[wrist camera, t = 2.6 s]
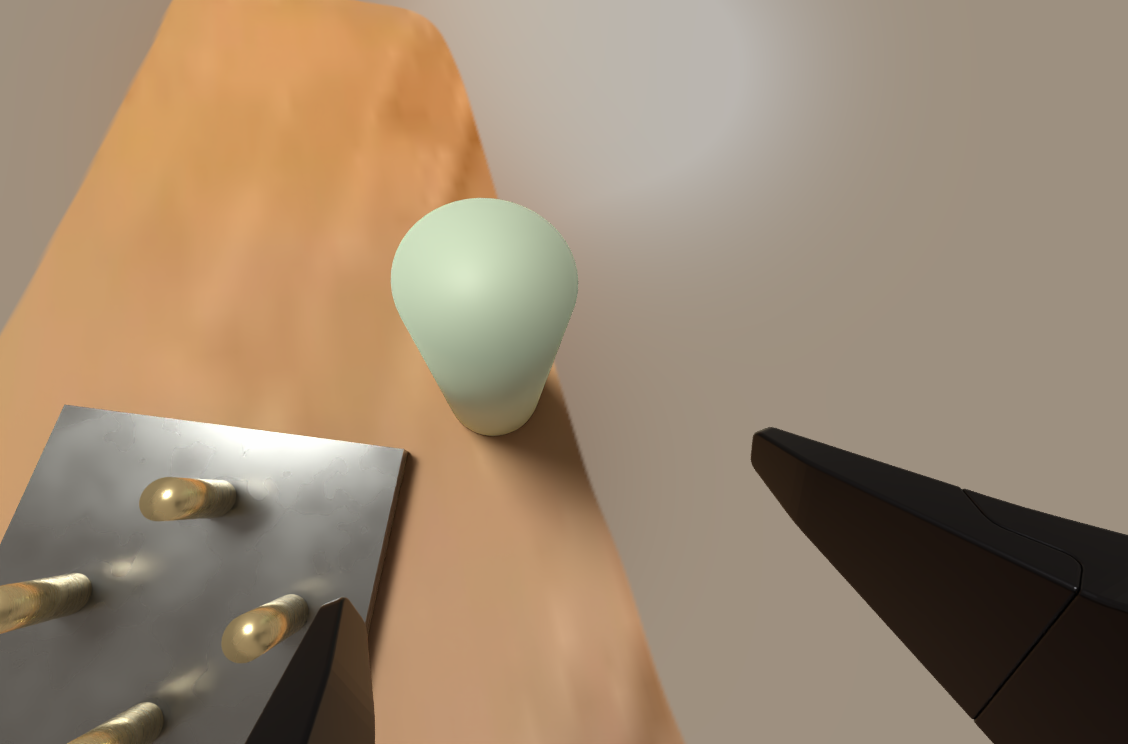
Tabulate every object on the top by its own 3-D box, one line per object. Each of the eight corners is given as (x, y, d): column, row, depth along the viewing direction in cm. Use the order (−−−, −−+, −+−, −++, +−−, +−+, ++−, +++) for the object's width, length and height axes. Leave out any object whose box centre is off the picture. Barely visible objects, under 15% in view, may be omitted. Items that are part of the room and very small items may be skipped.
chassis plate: (408, 451, 21) (387, 440, 17) (327, 820, 17) (276, 914, 13) (85, 409, 19) (-16, 387, 16) (-87, 799, 15) (-280, 897, 12)
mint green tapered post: (544, 356, 23) (586, 216, 12) (532, 441, 22) (566, 378, 10) (457, 342, 23) (413, 183, 11) (440, 429, 21) (370, 348, 10)
